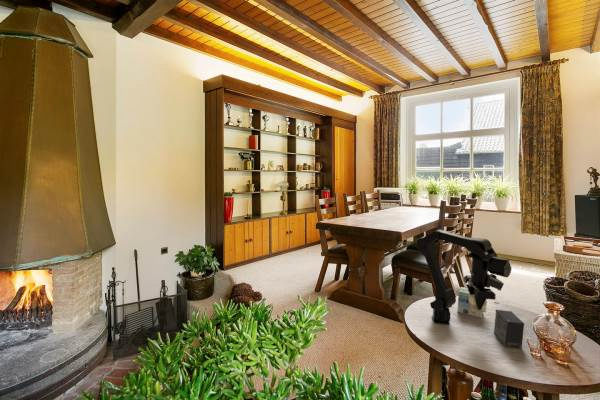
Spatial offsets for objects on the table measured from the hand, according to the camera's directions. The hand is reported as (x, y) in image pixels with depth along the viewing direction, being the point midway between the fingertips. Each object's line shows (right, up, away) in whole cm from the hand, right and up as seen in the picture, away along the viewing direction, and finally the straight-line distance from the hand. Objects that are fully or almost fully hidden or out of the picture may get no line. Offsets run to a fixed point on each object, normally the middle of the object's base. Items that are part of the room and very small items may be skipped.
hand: (477, 306), depth 123 cm
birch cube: (0, -1, 0) cm, 1 cm away
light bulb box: (+10, -11, +23) cm, 27 cm away
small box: (+12, -14, -1) cm, 18 cm away
